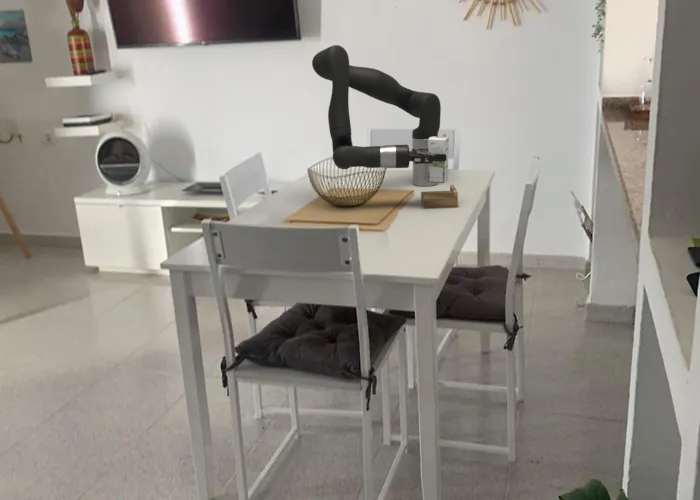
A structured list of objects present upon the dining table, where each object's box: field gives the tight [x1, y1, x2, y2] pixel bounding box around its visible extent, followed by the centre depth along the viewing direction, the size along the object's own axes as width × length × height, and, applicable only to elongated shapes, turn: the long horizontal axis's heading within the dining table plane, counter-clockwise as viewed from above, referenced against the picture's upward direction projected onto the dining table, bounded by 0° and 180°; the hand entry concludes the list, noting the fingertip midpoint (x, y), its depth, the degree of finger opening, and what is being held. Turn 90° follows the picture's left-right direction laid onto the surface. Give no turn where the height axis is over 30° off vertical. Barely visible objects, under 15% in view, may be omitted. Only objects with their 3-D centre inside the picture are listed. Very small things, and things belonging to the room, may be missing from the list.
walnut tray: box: [420, 184, 459, 209], centre depth 247 cm, size 11×11×5 cm
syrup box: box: [428, 136, 450, 184], centre depth 243 cm, size 6×6×14 cm
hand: (445, 155), depth 242 cm, fingers closed on syrup box, 7 cm apart
